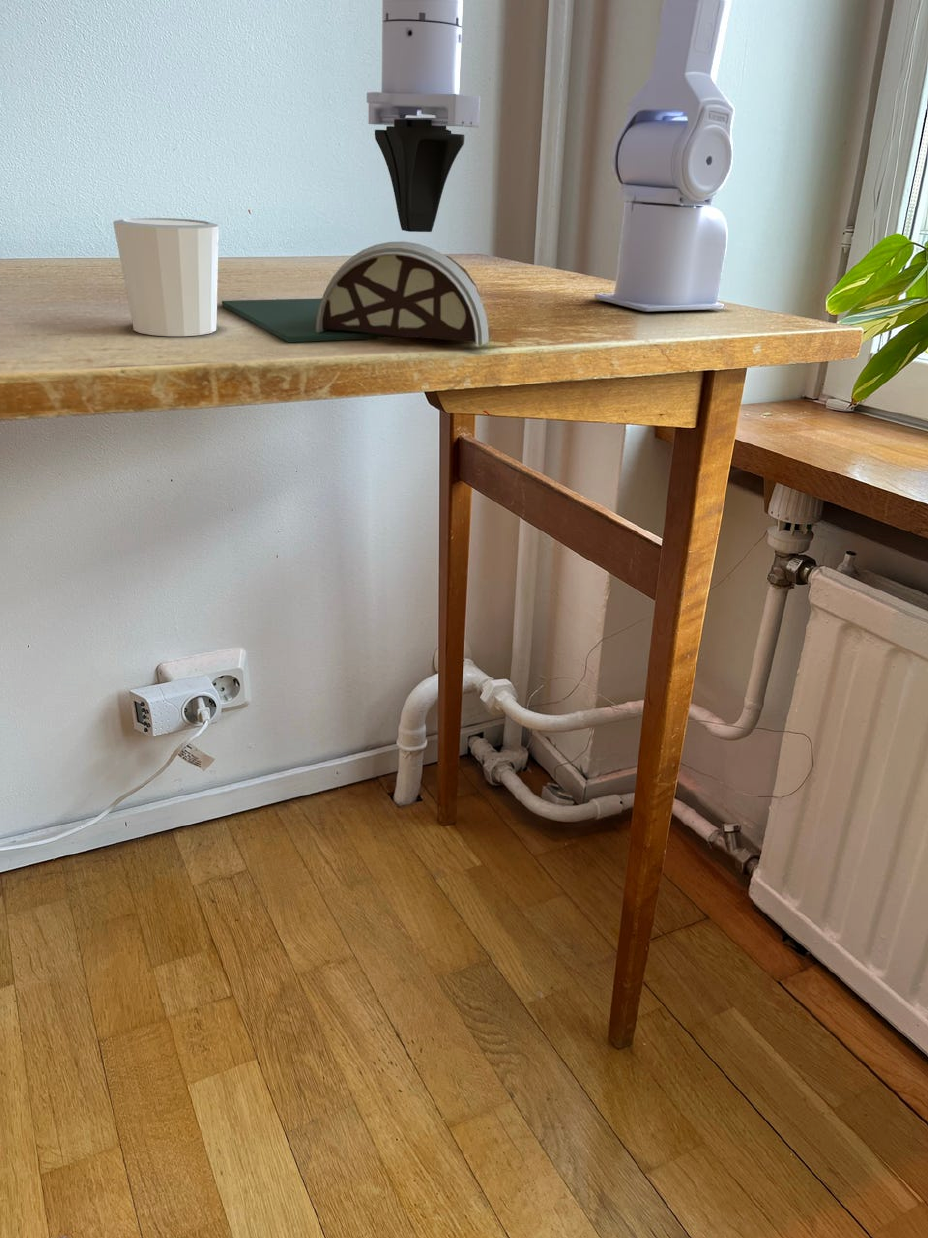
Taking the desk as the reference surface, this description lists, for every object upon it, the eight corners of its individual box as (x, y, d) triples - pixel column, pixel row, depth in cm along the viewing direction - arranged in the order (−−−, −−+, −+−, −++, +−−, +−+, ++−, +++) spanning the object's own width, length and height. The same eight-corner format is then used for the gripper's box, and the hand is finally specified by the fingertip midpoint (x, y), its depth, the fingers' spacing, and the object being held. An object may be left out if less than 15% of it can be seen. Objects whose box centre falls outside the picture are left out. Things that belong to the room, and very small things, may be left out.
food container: (508, 238, 70) (490, 250, 62) (502, 324, 73) (484, 347, 64) (347, 227, 72) (307, 237, 63) (347, 311, 75) (309, 332, 66)
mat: (358, 302, 82) (358, 297, 82) (444, 335, 70) (444, 329, 69) (221, 305, 77) (221, 300, 76) (288, 342, 64) (288, 336, 64)
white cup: (133, 339, 62) (122, 225, 59) (115, 321, 68) (104, 216, 65) (236, 335, 65) (231, 226, 62) (212, 319, 71) (205, 217, 68)
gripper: (331, 27, 71) (333, 221, 77) (416, 10, 60) (411, 240, 66) (415, 36, 74) (411, 223, 81) (511, 23, 63) (497, 240, 69)
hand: (416, 231), depth 74 cm, fingers closed
